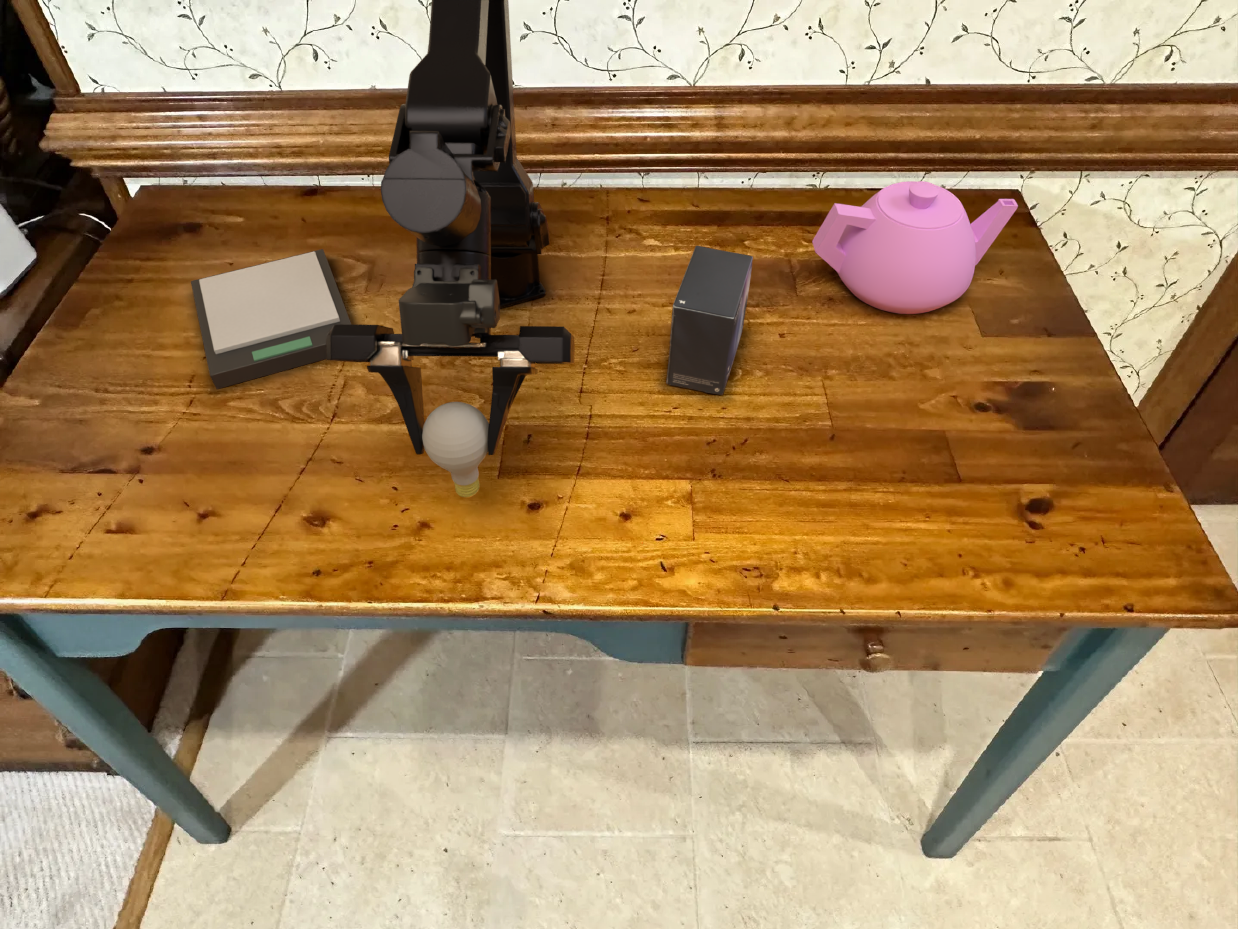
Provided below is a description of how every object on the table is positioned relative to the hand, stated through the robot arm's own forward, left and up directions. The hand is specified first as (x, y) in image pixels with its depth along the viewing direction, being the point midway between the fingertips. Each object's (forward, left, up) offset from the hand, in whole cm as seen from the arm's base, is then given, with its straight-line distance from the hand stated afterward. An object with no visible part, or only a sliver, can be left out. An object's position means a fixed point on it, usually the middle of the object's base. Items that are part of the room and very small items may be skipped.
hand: (455, 454), depth 70 cm
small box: (-30, -12, -11) cm, 34 cm away
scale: (+11, -38, -11) cm, 41 cm away
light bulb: (-1, -1, -7) cm, 7 cm away
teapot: (-57, -15, -11) cm, 60 cm away
